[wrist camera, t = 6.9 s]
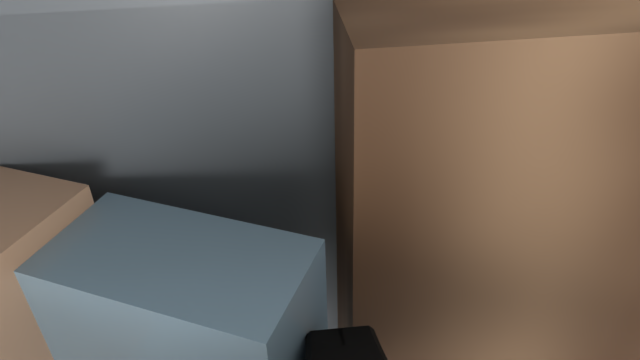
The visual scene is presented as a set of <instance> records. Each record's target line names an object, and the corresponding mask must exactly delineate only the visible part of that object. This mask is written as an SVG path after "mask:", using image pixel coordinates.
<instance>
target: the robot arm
mask: <svg viewBox="0 0 640 360" xmlns="http://www.w3.org/2000/svg"><path fill="white" fill-rule="evenodd" d="M305 345H306V352H305V360H388V359H387V357H386V355H385V353H384V351H383V349H382V347H381V344H380V342H379V340H378V338H377V335H376V333H375V330H374V329H373V328H372V327H370V326H369V325H367V326H356V327H345V328H335V329H324V330H313V331H310V332H309V333H307V334H306V337H305Z"/></svg>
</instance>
